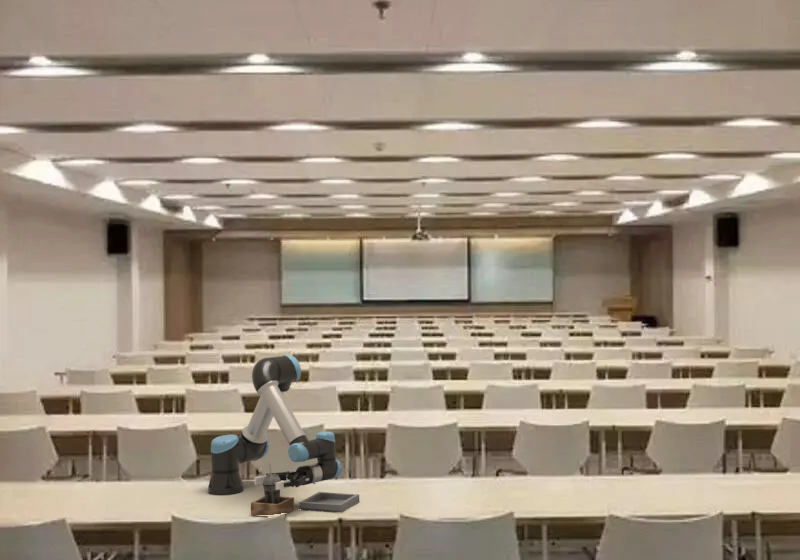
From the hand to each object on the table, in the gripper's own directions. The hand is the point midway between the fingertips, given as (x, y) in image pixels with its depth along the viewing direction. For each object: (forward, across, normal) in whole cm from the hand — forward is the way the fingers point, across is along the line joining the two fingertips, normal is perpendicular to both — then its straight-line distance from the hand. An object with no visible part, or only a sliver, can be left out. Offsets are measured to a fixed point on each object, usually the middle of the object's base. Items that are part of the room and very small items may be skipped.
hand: (265, 483), depth 380 cm
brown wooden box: (-3, 0, -12) cm, 12 cm away
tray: (-25, -9, -12) cm, 29 cm away
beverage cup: (-3, 0, -12) cm, 13 cm away
